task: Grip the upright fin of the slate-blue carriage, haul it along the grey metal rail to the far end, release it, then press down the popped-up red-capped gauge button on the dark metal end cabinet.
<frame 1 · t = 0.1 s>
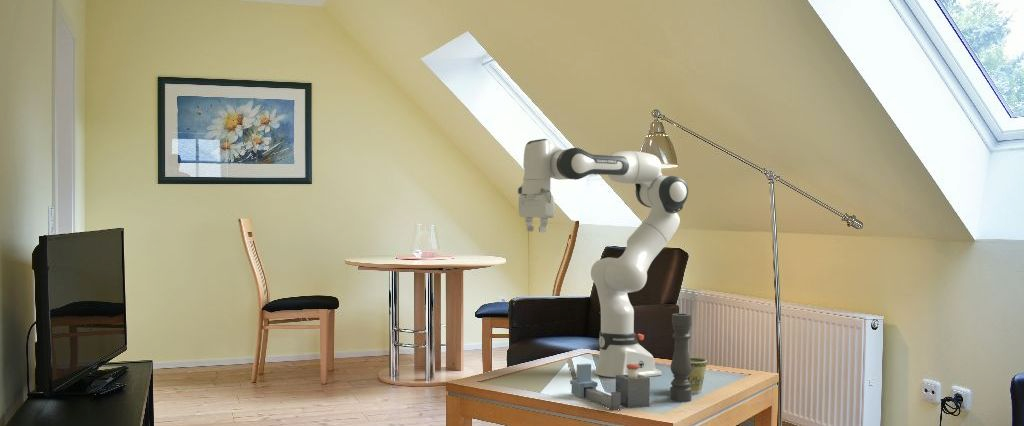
hand: (536, 231, 287), 48 cm above the table, fingers open, 8 cm apart
rail: (595, 401, 256), on the table
cabinet: (632, 404, 253), on the table
ceramic cup: (691, 392, 273), on the table
carriage: (583, 379, 263), point 5 cm above the table, slide at -7.5 cm
gauge button: (632, 375, 253), point 8 cm above the table, slide at 0.0 cm
candle holder: (680, 400, 261), on the table
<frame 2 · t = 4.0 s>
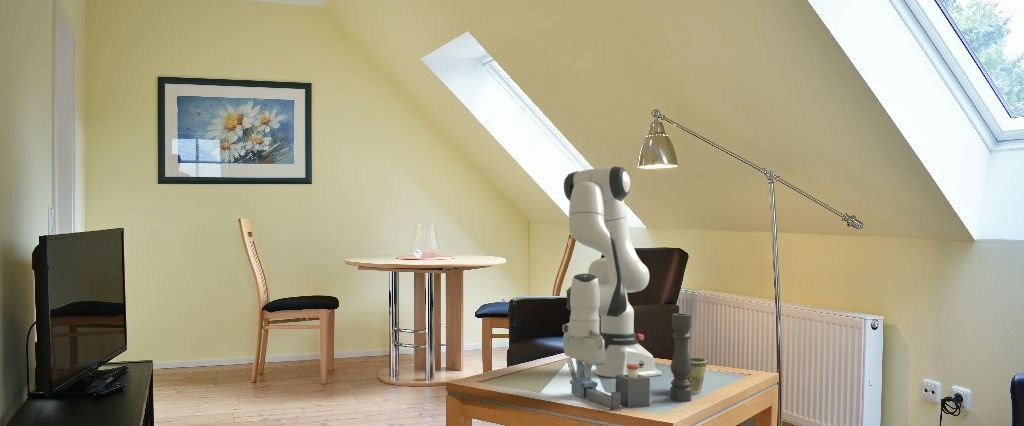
hand: (583, 375, 263), 6 cm above the table, fingers closed, pressing on carriage
carriage: (583, 379, 263), point 5 cm above the table, slide at -7.5 cm, touching gripper
everything else where it was.
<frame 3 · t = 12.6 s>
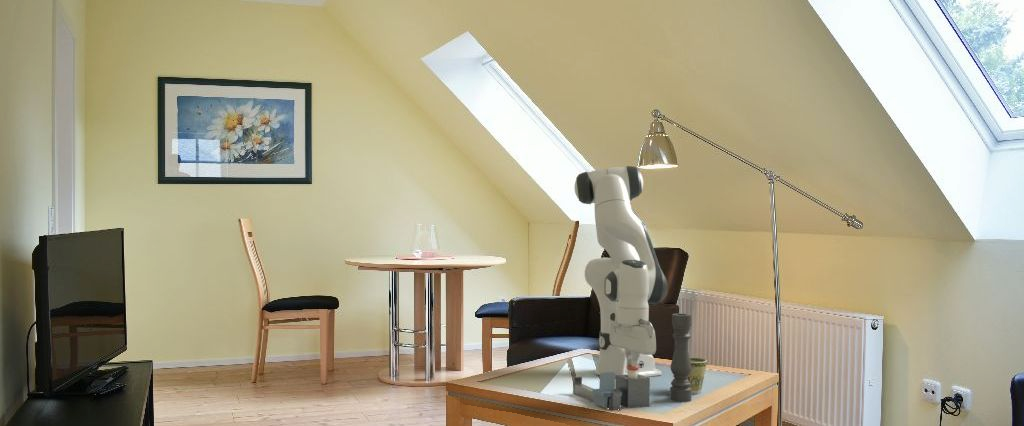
hand: (631, 365, 253), 11 cm above the table, fingers closed, pressing on gauge button
carriage: (607, 388, 250), point 5 cm above the table, slide at 6.5 cm
gauge button: (632, 376, 253), point 8 cm above the table, slide at -0.3 cm, touching gripper
everything else where it was.
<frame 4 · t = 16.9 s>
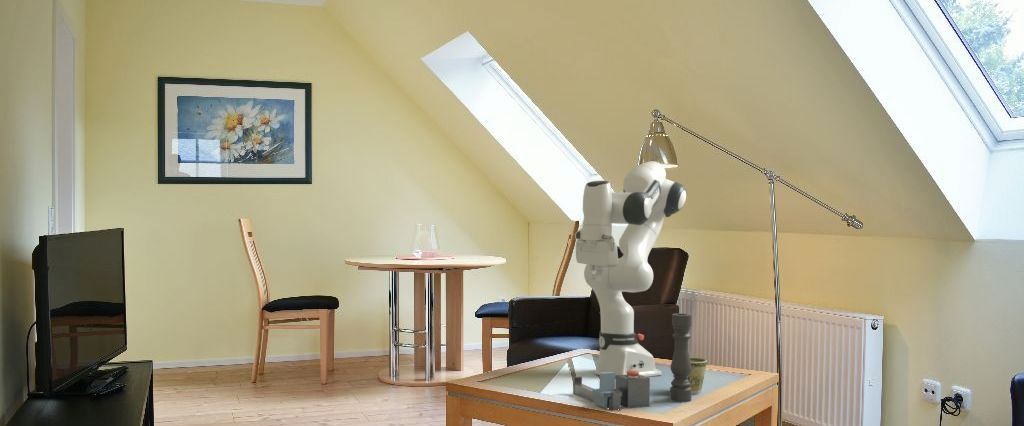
hand: (596, 280, 267), 34 cm above the table, fingers closed
gauge button: (632, 381, 253), point 6 cm above the table, slide at -1.9 cm
everything else where it was.
at the end: carriage slide at 6.5 cm; gauge button slide at -1.9 cm; the gripper is holding nothing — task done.
